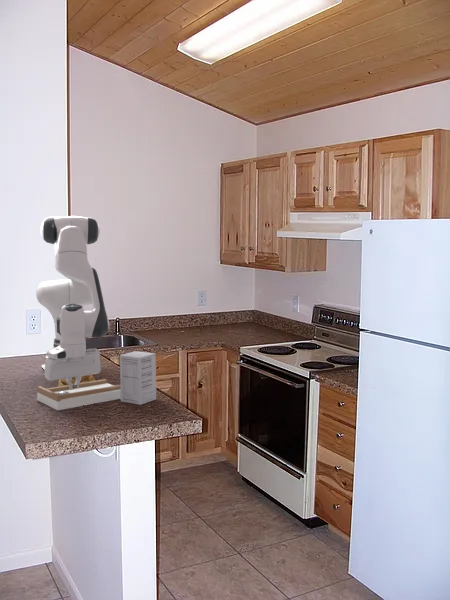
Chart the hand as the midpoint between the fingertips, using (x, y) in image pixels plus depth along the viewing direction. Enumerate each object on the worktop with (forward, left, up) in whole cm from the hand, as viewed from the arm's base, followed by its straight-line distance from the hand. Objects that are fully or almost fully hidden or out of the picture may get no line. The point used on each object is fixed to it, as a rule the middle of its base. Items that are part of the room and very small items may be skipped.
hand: (73, 389), depth 224 cm
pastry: (-16, +10, -5) cm, 19 cm away
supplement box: (+14, +18, -4) cm, 23 cm away
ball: (0, -4, -2) cm, 5 cm away
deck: (0, +3, -4) cm, 5 cm away
